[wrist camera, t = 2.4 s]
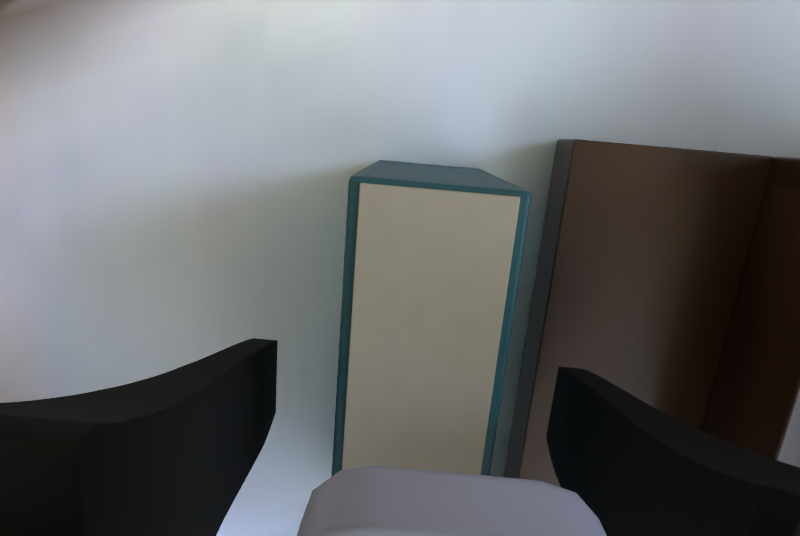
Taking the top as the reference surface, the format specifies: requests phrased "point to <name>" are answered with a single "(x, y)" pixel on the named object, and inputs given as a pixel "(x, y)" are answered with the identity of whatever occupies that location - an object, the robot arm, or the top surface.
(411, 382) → the book
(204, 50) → the top surface
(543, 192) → the top surface
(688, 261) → the step shelf
